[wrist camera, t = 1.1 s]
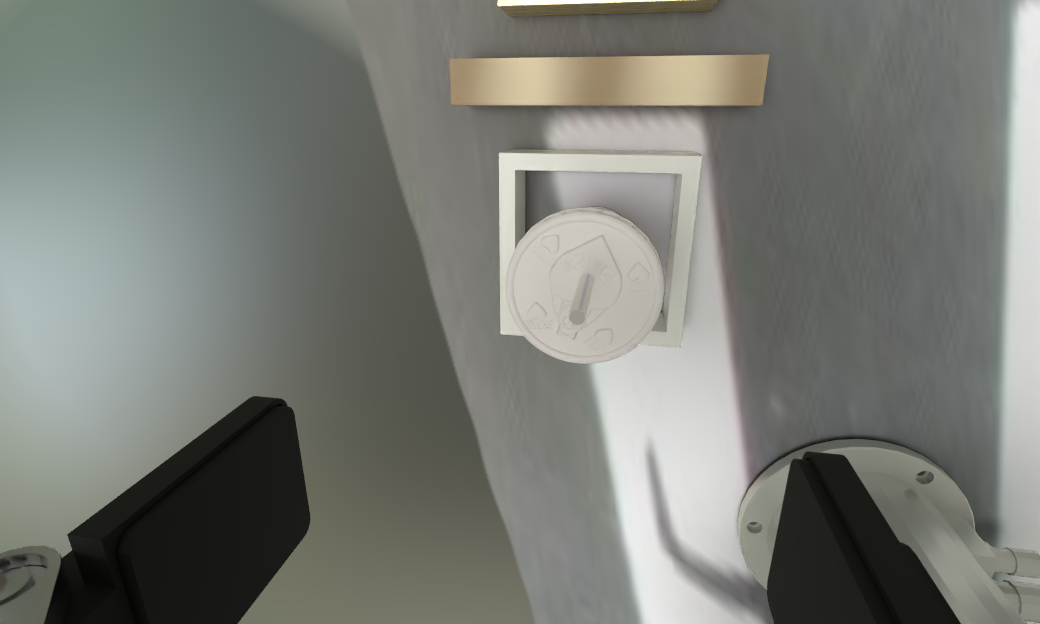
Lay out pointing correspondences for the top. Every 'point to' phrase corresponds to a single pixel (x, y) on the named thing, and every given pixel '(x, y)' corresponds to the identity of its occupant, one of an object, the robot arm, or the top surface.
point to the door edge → (610, 81)
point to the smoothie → (585, 285)
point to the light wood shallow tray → (601, 6)
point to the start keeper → (680, 163)
